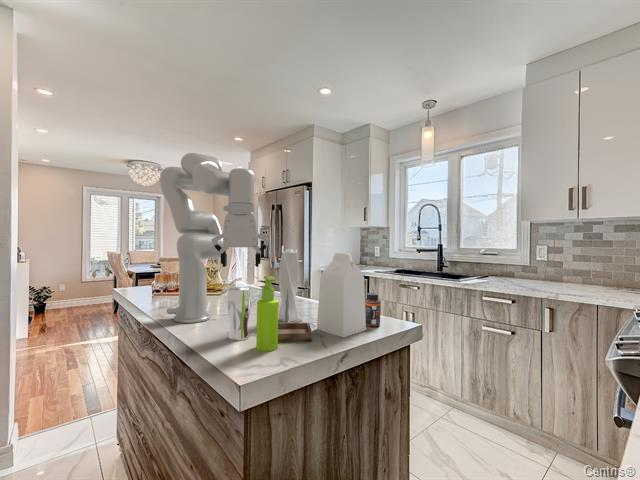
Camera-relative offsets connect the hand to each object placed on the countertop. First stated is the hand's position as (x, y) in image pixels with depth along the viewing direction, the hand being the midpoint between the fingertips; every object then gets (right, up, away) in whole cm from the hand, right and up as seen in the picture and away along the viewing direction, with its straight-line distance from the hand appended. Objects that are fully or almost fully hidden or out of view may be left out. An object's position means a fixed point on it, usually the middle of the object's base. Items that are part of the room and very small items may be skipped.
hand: (240, 266), depth 97 cm
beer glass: (-1, -22, 0) cm, 22 cm away
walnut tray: (+15, -22, +3) cm, 27 cm away
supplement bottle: (+43, -23, +17) cm, 51 cm away
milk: (+31, -23, +11) cm, 40 cm away
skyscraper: (+12, -22, +21) cm, 33 cm away
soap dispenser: (+10, -22, -9) cm, 26 cm away
